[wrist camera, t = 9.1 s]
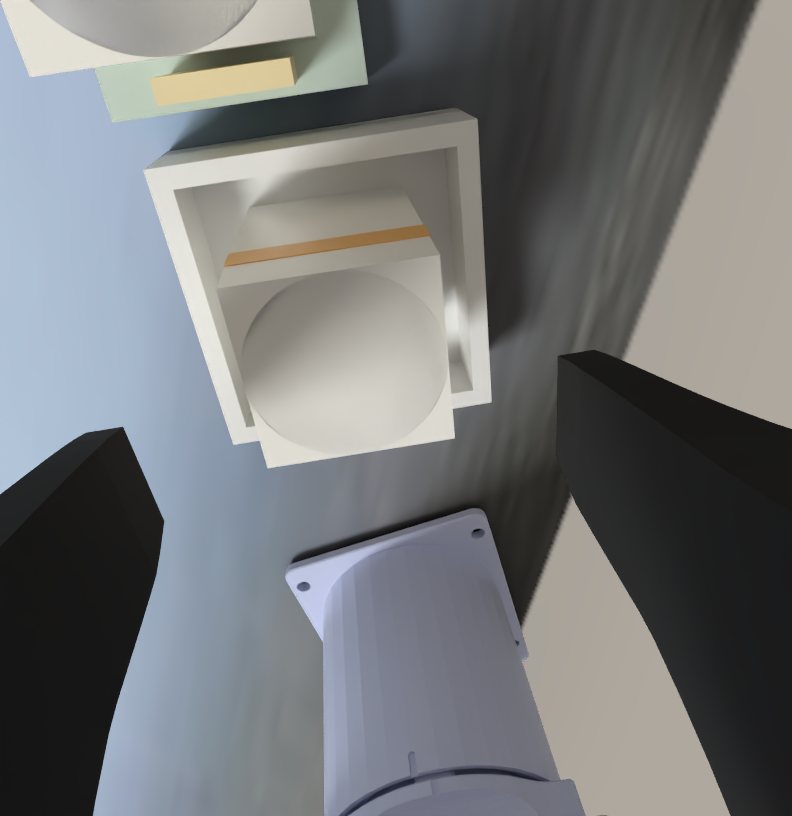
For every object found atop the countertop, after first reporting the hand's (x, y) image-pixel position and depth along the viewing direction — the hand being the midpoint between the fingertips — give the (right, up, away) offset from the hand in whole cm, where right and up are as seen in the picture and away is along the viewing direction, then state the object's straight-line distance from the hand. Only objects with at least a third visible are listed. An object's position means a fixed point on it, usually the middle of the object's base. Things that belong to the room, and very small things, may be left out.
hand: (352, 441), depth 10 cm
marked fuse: (-1, +4, +7) cm, 8 cm away
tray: (-1, +5, +7) cm, 9 cm away
